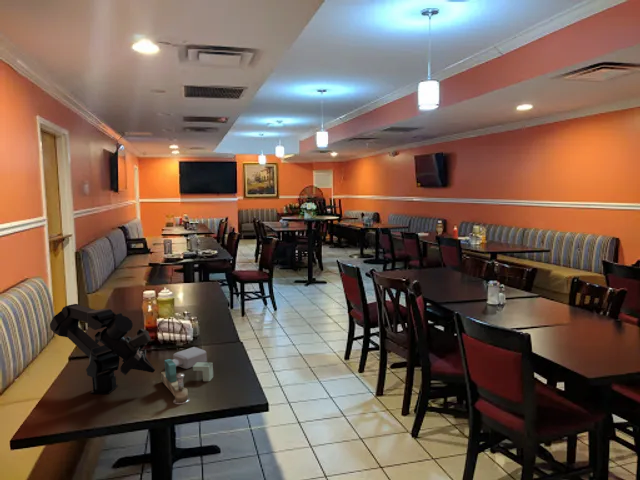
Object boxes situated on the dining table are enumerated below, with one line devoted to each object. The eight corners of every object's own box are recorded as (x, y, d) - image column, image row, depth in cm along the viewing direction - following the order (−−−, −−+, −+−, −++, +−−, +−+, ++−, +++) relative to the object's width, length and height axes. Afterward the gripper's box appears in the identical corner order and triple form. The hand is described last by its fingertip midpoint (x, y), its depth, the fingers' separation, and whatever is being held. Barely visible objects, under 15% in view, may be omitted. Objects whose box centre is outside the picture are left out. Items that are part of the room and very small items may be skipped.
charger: (159, 369, 179) (193, 357, 190) (173, 375, 173) (207, 362, 184) (159, 357, 178) (192, 346, 189) (172, 362, 172) (206, 351, 183)
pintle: (170, 404, 149) (168, 378, 148) (177, 396, 154) (175, 371, 153) (186, 404, 148) (184, 378, 147) (192, 397, 154) (191, 371, 152)
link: (189, 399, 151) (188, 373, 150) (177, 403, 148) (175, 376, 147) (170, 378, 168) (169, 354, 167) (159, 381, 166) (157, 356, 165)
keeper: (193, 380, 166) (192, 366, 166) (197, 376, 170) (197, 362, 170) (209, 381, 166) (208, 366, 165) (213, 376, 170) (212, 362, 169)
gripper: (128, 333, 147) (167, 363, 150) (139, 316, 165) (173, 344, 168) (103, 359, 146) (143, 389, 150) (117, 340, 164) (152, 367, 168)
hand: (154, 371), depth 159 cm, fingers closed
